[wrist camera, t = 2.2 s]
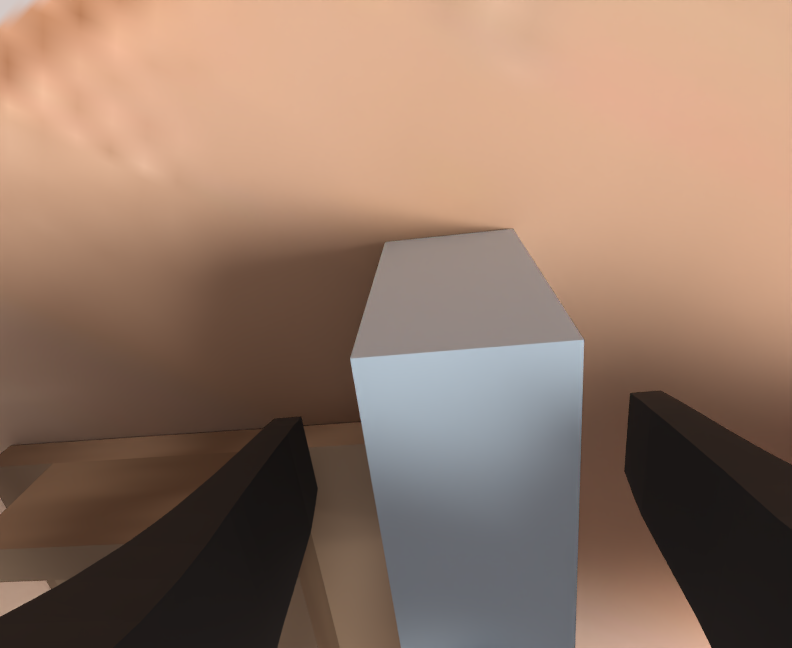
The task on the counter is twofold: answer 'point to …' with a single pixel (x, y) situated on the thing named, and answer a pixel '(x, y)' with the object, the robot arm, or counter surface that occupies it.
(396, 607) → the door panel
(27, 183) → the counter surface
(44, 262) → the counter surface
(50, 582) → the wooden tray
